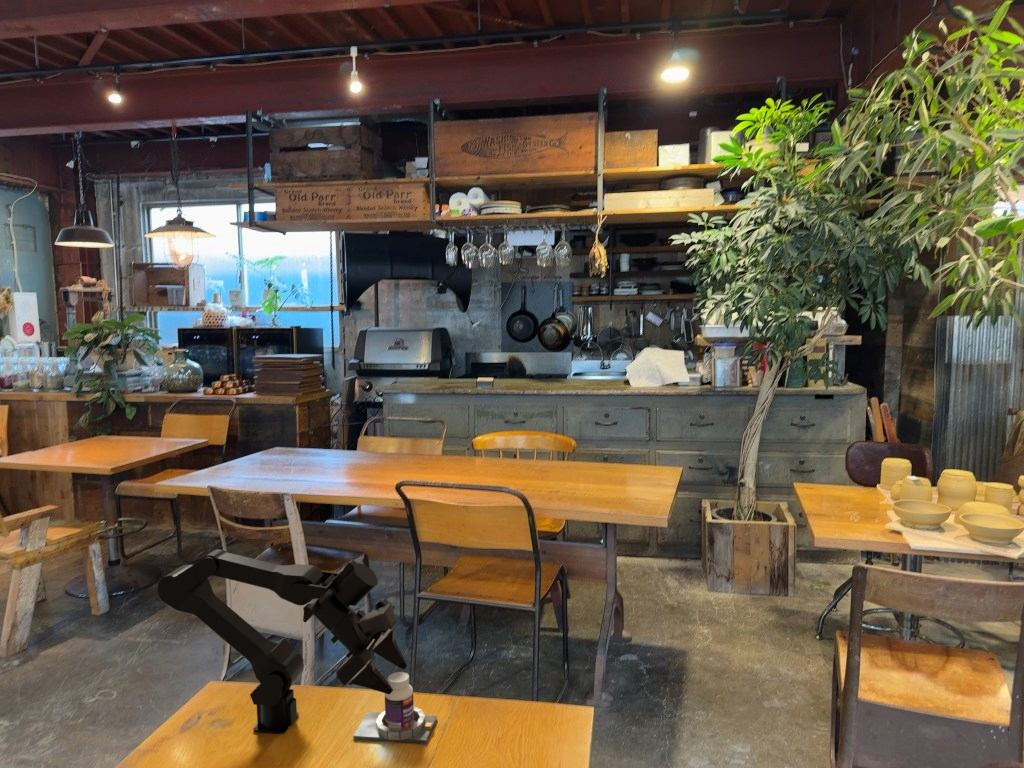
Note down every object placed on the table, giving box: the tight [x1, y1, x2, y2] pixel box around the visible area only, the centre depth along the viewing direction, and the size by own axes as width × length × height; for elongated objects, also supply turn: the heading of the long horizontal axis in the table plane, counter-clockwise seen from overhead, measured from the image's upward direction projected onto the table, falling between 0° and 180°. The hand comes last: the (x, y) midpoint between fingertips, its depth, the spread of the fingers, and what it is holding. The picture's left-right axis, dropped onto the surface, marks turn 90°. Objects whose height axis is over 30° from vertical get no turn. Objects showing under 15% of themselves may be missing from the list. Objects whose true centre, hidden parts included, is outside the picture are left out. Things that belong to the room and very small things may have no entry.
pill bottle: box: [384, 671, 414, 729], centre depth 130 cm, size 5×5×10 cm
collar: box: [376, 706, 432, 740], centre depth 130 cm, size 10×9×2 cm
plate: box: [352, 711, 438, 745], centre depth 130 cm, size 14×8×1 cm, turn 82°
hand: (398, 679), depth 129 cm, fingers open, 9 cm apart
